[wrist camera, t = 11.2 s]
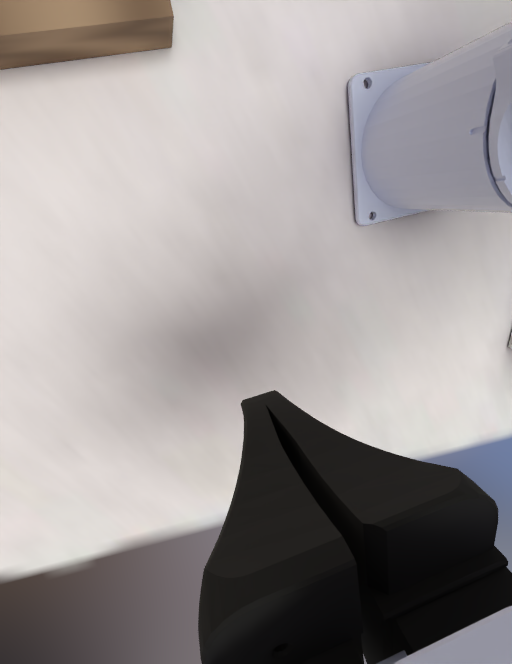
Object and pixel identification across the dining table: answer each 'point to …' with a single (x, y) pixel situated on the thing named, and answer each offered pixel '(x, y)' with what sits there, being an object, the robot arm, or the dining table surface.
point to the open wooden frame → (80, 29)
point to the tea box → (511, 343)
